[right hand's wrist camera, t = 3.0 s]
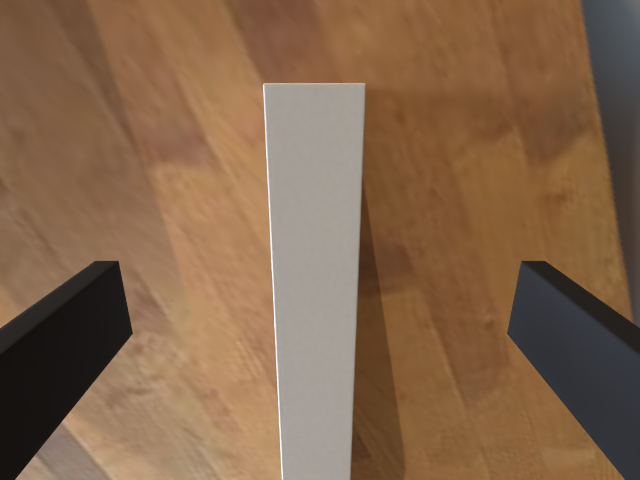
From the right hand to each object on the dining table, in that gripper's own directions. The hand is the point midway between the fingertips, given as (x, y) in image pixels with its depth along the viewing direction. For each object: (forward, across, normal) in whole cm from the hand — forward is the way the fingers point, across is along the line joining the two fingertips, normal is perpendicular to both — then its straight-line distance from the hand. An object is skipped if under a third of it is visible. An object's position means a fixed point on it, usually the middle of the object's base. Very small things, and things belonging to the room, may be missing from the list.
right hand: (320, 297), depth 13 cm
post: (+16, 0, -23) cm, 28 cm away
